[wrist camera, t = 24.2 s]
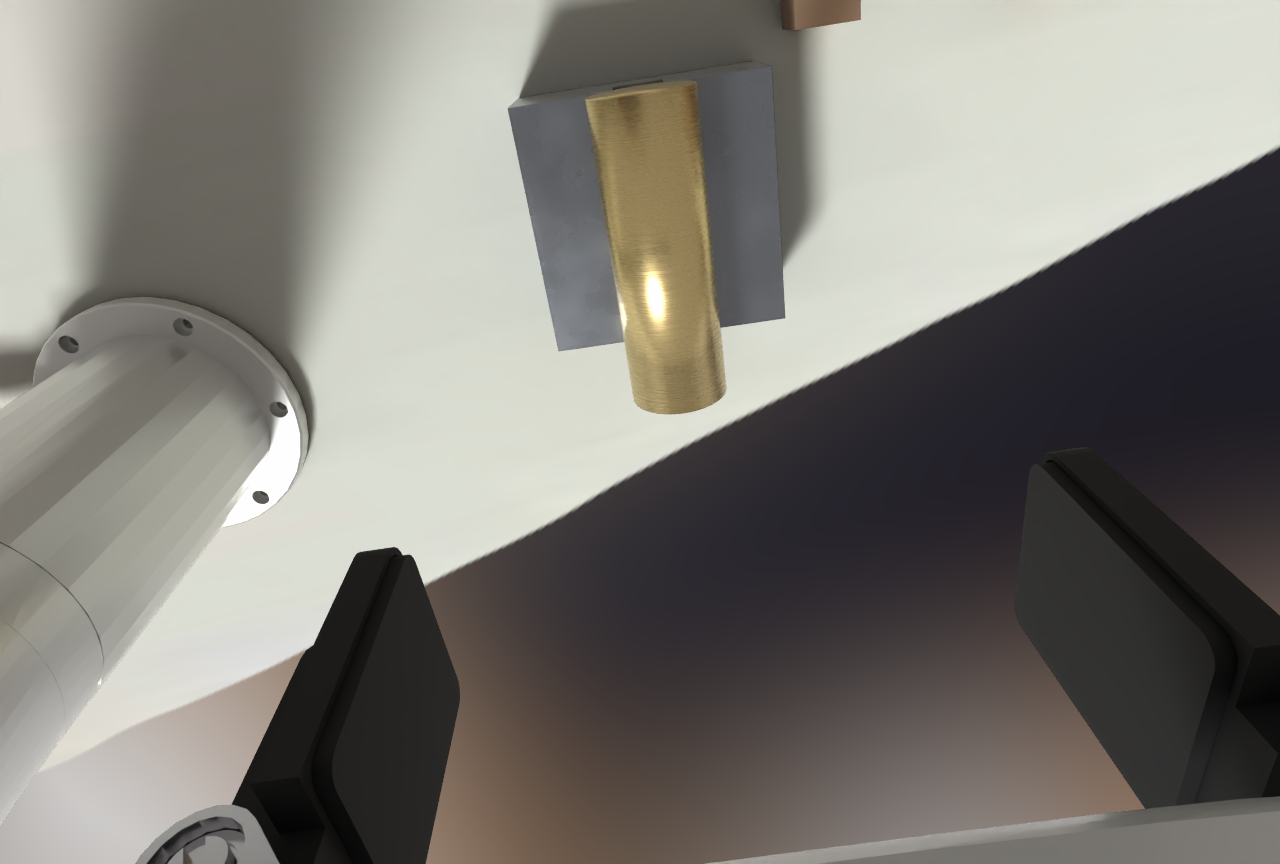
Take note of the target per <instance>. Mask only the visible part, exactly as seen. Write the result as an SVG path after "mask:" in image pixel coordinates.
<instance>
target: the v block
mask: <svg viewBox="0 0 1280 864" xmlns="http://www.w3.org/2000/svg"><path fill="white" fill-rule="evenodd" d="M685 80H692V81H696V82H697V92H698V102H699V113H700V123H701V133H702V143H703V154H704V164H705V174H706V184H707V195H708V205H709V215H710V225H711V236H712V246H713V256H714V266H715V277H716V287H717V297H718V307H719V318H720V328H722V327H728V326H735V325H742V324H749V323H756V322H762V321H769V320H776V319H783V318H785V304H784V286H783V267H782V249H781V230H780V211H779V193H778V174H777V156H776V137H775V119H774V100H773V82H772V66H769V65H766V64H763V63H760V62H756V61H749V62H742V63H736V64H730V65H724V66H717V67H711V68H705V69H699V70H692V71H686V72H680V73H673V74H667V75H661V76H655V77H648V78H642V79H636V80H630V81H623V82H617V83H611V84H604V85H598V86H592V87H586V88H579V89H573V90H567V91H561V92H554V93H548V94H542V95H535V96H529V97H523V98H518V99H517V100H516V101H515V102H514V103H513V104H512V105H511V106H510V107H509V108H508V112H509V117H510V121H511V126H512V131H513V136H514V140H515V145H516V150H517V155H518V160H519V164H520V169H521V174H522V179H523V183H524V188H525V193H526V198H527V203H528V207H529V212H530V217H531V222H532V227H533V231H534V236H535V241H536V246H537V250H538V255H539V260H540V265H541V270H542V274H543V279H544V284H545V289H546V293H547V298H548V303H549V308H550V313H551V317H552V322H553V327H554V332H555V337H556V341H557V346H558V351H565V350H572V349H579V348H585V347H592V346H599V345H606V344H613V343H619V342H624V336H623V330H622V323H621V317H620V311H619V305H618V299H617V293H616V287H615V281H614V274H613V268H612V262H611V256H610V250H609V244H608V238H607V232H606V225H605V219H604V213H603V207H602V201H601V195H600V189H599V183H598V176H597V170H596V164H595V158H594V152H593V146H592V140H591V134H590V127H589V121H588V115H587V109H586V103H585V98H587V97H589V96H592V95H596V94H599V93H603V92H608V91H612V90H617V89H622V88H628V87H634V86H640V85H646V84H653V83H661V82H671V81H685Z"/></svg>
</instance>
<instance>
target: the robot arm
mask: <svg viewBox="0 0 1280 864" xmlns="http://www.w3.org/2000/svg"><path fill="white" fill-rule="evenodd" d="M188 321H189V322H190V323H191V324H190V323H189V322H188ZM32 385H33V388H32V389H30V390H29V391H27V392H25V393H24V394H22V395H21V396H19V397H18V398H16V399H15V400H13V401H12V402H10V403H8V404H7V405H5V406H4V407H2V408H1V409H0V826H1V824H2V823H3V821H4V820H5V818H6V817H7V815H8V813H9V812H10V811H11V809H12V808H13V806H14V805H15V803H16V802H17V800H18V799H19V797H20V796H21V794H22V792H23V791H24V789H25V788H26V787H27V785H28V784H29V783H30V781H31V780H32V778H33V777H34V776H35V774H36V773H37V771H38V770H39V769H40V767H41V766H42V765H43V763H44V762H45V760H46V759H47V758H48V756H49V755H50V753H51V752H52V751H53V749H54V748H55V747H56V745H57V744H58V742H59V741H60V740H61V738H62V737H63V736H64V734H65V733H66V732H67V730H68V729H69V728H70V726H71V725H72V724H73V722H74V721H75V720H76V718H77V717H78V716H79V714H80V713H81V712H82V711H83V709H84V708H85V707H86V705H87V704H88V703H89V702H90V701H91V699H92V698H93V697H94V695H95V694H96V693H97V691H98V690H99V689H100V687H101V686H102V685H103V683H104V682H105V681H106V679H107V678H108V677H109V675H110V674H111V673H112V672H113V670H114V669H115V668H116V666H117V665H118V664H119V662H120V661H121V660H122V658H123V657H124V656H125V654H126V653H127V652H128V650H129V649H130V648H131V646H132V645H133V644H134V642H135V641H136V640H137V638H138V637H139V636H140V634H141V633H142V632H143V630H144V629H145V628H146V627H147V625H148V624H149V623H150V621H151V620H152V619H153V617H154V616H155V615H156V613H157V612H158V611H159V609H160V608H161V607H162V605H163V604H164V603H165V601H166V600H167V599H168V597H169V596H170V595H171V593H172V592H173V591H174V589H175V588H176V587H177V586H178V584H179V583H180V582H181V580H182V579H183V578H184V576H185V575H186V574H187V572H188V571H189V570H190V568H191V567H192V566H193V564H194V563H195V562H196V560H197V559H198V558H199V556H200V555H201V554H202V552H203V551H204V550H205V548H206V547H207V546H208V544H209V543H210V542H211V541H212V539H213V538H214V537H215V535H216V534H217V533H218V531H219V530H220V529H221V527H226V526H230V525H235V524H239V523H243V522H246V521H248V520H250V519H253V518H255V517H257V516H259V515H262V514H263V513H265V512H266V511H267V510H269V509H270V508H272V507H273V506H274V505H276V504H277V503H278V502H279V501H280V500H281V499H282V497H283V496H284V495H285V494H286V493H287V492H288V491H289V489H290V488H291V486H292V485H293V483H294V482H295V480H296V479H297V477H298V475H299V474H300V472H301V469H302V466H303V464H304V461H305V458H306V455H307V446H308V436H309V435H308V427H307V419H306V414H305V411H304V408H303V405H302V402H301V399H300V396H299V393H298V392H297V390H296V388H295V386H294V385H293V383H292V381H291V379H290V378H289V376H288V374H287V373H286V371H285V370H284V369H283V368H282V366H281V365H280V364H279V363H278V361H277V360H276V359H275V358H274V357H273V355H272V354H271V353H270V352H269V351H268V350H267V349H266V348H264V347H263V346H262V345H261V344H260V343H259V342H258V341H257V340H255V339H254V338H253V337H252V336H251V335H250V334H248V333H247V332H245V331H244V330H242V329H241V328H239V327H237V326H236V325H234V324H233V323H231V322H230V321H228V320H227V319H225V318H222V317H220V316H218V315H216V314H214V313H212V312H209V311H207V310H205V309H203V308H200V307H197V306H193V305H190V304H186V303H183V302H179V301H176V300H170V299H162V298H154V297H133V298H120V299H116V300H112V301H108V302H105V303H101V304H97V305H95V306H93V307H91V308H89V309H87V310H85V311H83V312H81V313H79V314H77V315H76V316H74V317H73V318H71V319H70V320H68V321H67V322H65V323H64V324H63V325H61V326H60V327H58V328H57V329H56V331H55V332H54V333H53V334H52V335H51V336H50V338H49V339H48V340H47V341H46V342H45V343H44V346H43V348H42V350H41V352H40V354H39V356H38V359H37V361H36V364H35V370H34V376H33V382H32ZM282 403H283V404H282ZM284 404H285V405H284ZM1015 612H1016V615H1017V619H1018V621H1019V624H1020V626H1021V627H1022V629H1023V630H1024V632H1025V633H1026V635H1027V636H1028V638H1029V639H1030V641H1031V642H1032V644H1033V645H1034V646H1035V648H1036V649H1037V651H1038V652H1039V654H1040V655H1041V657H1042V658H1043V660H1044V661H1045V663H1046V664H1047V665H1048V667H1049V668H1050V669H1051V671H1052V673H1053V674H1054V676H1055V677H1056V679H1057V680H1058V682H1059V683H1060V685H1061V686H1062V687H1063V689H1064V690H1065V692H1066V693H1067V695H1068V696H1069V698H1070V699H1071V701H1072V702H1073V704H1074V705H1075V707H1076V708H1077V709H1078V711H1079V712H1080V714H1081V715H1082V717H1083V718H1084V720H1085V721H1086V723H1087V724H1088V726H1089V727H1090V728H1091V730H1092V731H1093V733H1094V734H1095V736H1096V737H1097V739H1098V740H1099V742H1100V743H1101V745H1102V746H1103V748H1104V749H1105V750H1106V752H1107V753H1108V755H1109V756H1110V758H1111V759H1112V761H1113V762H1114V764H1115V765H1116V767H1117V768H1118V769H1119V771H1120V772H1121V774H1122V775H1123V777H1124V778H1125V780H1126V781H1127V782H1128V784H1129V785H1130V787H1131V788H1132V790H1133V791H1134V793H1135V794H1136V796H1137V797H1138V798H1139V800H1140V801H1141V803H1142V805H1143V806H1144V807H1145V809H1141V810H1131V811H1122V812H1113V813H1104V814H1096V815H1088V816H1081V817H1072V818H1064V819H1056V820H1047V821H1040V822H1031V823H1024V824H1016V825H1007V826H999V827H991V828H982V829H975V830H967V831H958V832H950V833H942V834H934V835H926V836H918V837H910V838H902V839H894V840H886V841H878V842H871V843H863V844H855V845H847V846H839V847H832V848H824V849H816V850H809V851H800V852H793V853H785V854H777V855H770V856H762V857H755V858H747V859H739V860H731V861H724V862H716V863H708V864H1280V615H1278V614H1277V613H1276V612H1275V611H1274V610H1273V609H1272V608H1271V607H1269V606H1268V605H1267V604H1266V603H1265V602H1264V601H1263V600H1261V599H1260V598H1259V597H1258V596H1257V595H1256V594H1255V593H1254V592H1252V591H1251V590H1250V589H1249V588H1248V587H1247V586H1246V585H1244V584H1243V583H1242V582H1241V581H1240V580H1239V579H1238V578H1237V577H1236V576H1234V575H1233V574H1232V573H1231V572H1230V571H1229V570H1228V569H1226V568H1225V567H1224V566H1223V565H1222V564H1221V563H1220V562H1219V561H1217V560H1216V559H1215V558H1214V557H1213V556H1212V555H1211V554H1209V553H1208V552H1207V551H1206V550H1205V549H1204V548H1203V547H1202V546H1201V545H1199V544H1198V543H1197V542H1196V541H1195V540H1194V539H1193V538H1192V537H1190V536H1189V535H1188V534H1187V533H1186V532H1185V531H1184V530H1183V529H1181V528H1180V527H1179V526H1178V525H1177V524H1176V523H1175V522H1173V521H1172V520H1171V519H1170V518H1169V517H1168V516H1167V515H1166V514H1164V513H1163V512H1162V511H1161V510H1160V509H1159V508H1158V507H1156V506H1155V505H1154V504H1153V503H1152V502H1151V501H1149V499H1148V498H1146V497H1145V496H1144V495H1143V494H1142V493H1141V492H1140V491H1139V490H1137V489H1136V488H1135V487H1134V486H1133V485H1132V484H1131V483H1129V482H1128V481H1127V480H1126V479H1125V478H1124V477H1123V476H1122V475H1121V474H1119V473H1118V472H1117V471H1116V470H1115V469H1113V467H1111V466H1110V465H1109V464H1108V463H1107V462H1106V461H1104V459H1102V458H1101V457H1100V456H1099V455H1098V454H1097V453H1096V452H1094V451H1093V450H1092V449H1090V448H1085V447H1084V448H1077V449H1069V450H1062V451H1056V452H1049V453H1046V454H1044V455H1043V457H1042V459H1041V461H1040V464H1035V465H1033V466H1032V468H1031V470H1030V474H1029V482H1028V490H1027V500H1026V508H1025V516H1024V525H1023V534H1022V542H1021V551H1020V560H1019V568H1018V577H1017V586H1016V594H1015ZM459 701H460V691H459V682H458V679H457V676H456V673H455V670H454V668H453V665H452V662H451V660H450V657H449V654H448V651H447V648H446V645H445V643H444V640H443V637H442V635H441V632H440V629H439V626H438V623H437V621H436V618H435V615H434V613H433V609H432V607H431V604H430V601H429V598H428V596H427V593H426V590H425V587H424V585H423V582H422V579H421V576H420V574H419V571H418V568H417V565H416V562H415V560H414V558H413V557H412V556H411V555H403V556H402V553H401V552H400V550H399V549H398V548H395V547H392V548H385V549H378V550H371V551H364V552H359V553H357V554H356V556H355V557H354V559H353V561H352V563H351V565H350V567H349V570H348V572H347V574H346V576H345V578H344V580H343V582H342V585H341V587H340V589H339V591H338V593H337V595H336V598H335V600H334V602H333V604H332V606H331V608H330V611H329V613H328V615H327V617H326V619H325V621H324V623H323V626H322V628H321V630H320V632H319V634H318V636H317V639H316V641H315V643H314V645H313V646H312V647H310V648H309V649H307V650H306V651H305V653H304V654H303V656H302V657H301V659H300V661H299V663H298V666H297V668H296V670H295V672H294V674H293V676H292V678H291V680H290V682H289V684H288V687H287V689H286V691H285V693H284V695H283V697H282V699H281V701H280V704H279V706H278V708H277V710H276V712H275V714H274V716H273V718H272V720H271V722H270V725H269V727H268V729H267V731H266V733H265V735H264V737H263V739H262V742H261V744H260V746H259V748H258V750H257V752H256V754H255V756H254V759H253V760H252V763H251V765H250V767H249V769H248V771H247V773H246V775H245V777H244V779H243V782H242V784H241V786H240V788H239V790H238V792H237V794H236V796H235V799H234V801H233V803H232V805H221V806H214V807H211V808H208V809H204V810H201V811H198V812H196V813H194V814H192V815H190V816H188V817H186V818H184V819H183V820H181V821H179V822H177V823H175V824H174V825H173V826H172V827H170V828H169V829H168V830H167V831H165V832H164V833H163V834H161V835H160V836H159V837H158V838H156V839H155V841H154V842H153V843H152V844H151V845H150V846H149V847H148V848H147V849H146V850H145V851H144V852H143V854H142V855H141V856H140V857H139V859H138V860H137V862H136V864H425V863H426V859H427V854H428V849H429V845H430V840H431V835H432V830H433V826H434V821H435V816H436V812H437V807H438V802H439V797H440V792H441V788H442V783H443V778H444V774H445V768H446V764H447V759H448V755H449V750H450V745H451V741H452V735H453V731H454V726H455V721H456V717H457V712H458V707H459Z"/></svg>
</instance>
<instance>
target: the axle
mask: <svg viewBox="0 0 1280 864" xmlns="http://www.w3.org/2000/svg"><path fill="white" fill-rule="evenodd" d="M585 103H586V109H587V115H588V121H589V127H590V134H591V140H592V146H593V152H594V158H595V164H596V170H597V176H598V183H599V189H600V195H601V201H602V207H603V213H604V219H605V225H606V232H607V238H608V244H609V250H610V256H611V262H612V268H613V274H614V281H615V287H616V293H617V299H618V305H619V311H620V317H621V323H622V330H623V336H624V342H625V348H626V354H627V360H628V366H629V372H630V379H631V385H632V391H633V397H634V402H635V403H636V405H637V406H638V407H640V408H641V409H643V410H646V411H649V412H652V413H658V414H681V413H688V412H692V411H696V410H700V409H703V408H705V407H708V406H710V405H712V404H714V403H715V402H717V401H718V400H720V399H721V398H722V397H723V395H724V394H725V392H726V379H725V369H724V359H723V348H722V338H721V328H720V318H719V307H718V297H717V287H716V277H715V266H714V256H713V246H712V236H711V225H710V215H709V205H708V195H707V184H706V174H705V164H704V154H703V143H702V133H701V123H700V113H699V102H698V92H697V82H696V81H692V80H685V81H671V82H661V83H653V84H646V85H640V86H634V87H628V88H622V89H617V90H612V91H608V92H603V93H599V94H596V95H592V96H589V97H587V98H585Z"/></svg>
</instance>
